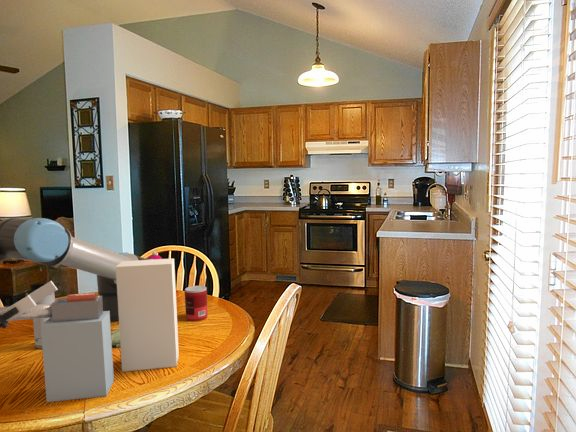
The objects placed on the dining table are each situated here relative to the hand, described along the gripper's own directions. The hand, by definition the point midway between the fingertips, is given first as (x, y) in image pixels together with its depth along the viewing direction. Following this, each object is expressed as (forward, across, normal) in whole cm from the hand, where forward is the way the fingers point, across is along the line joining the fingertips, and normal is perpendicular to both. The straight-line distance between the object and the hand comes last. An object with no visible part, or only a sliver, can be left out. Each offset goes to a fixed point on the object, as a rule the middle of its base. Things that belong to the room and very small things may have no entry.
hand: (44, 292), depth 102 cm
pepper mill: (0, -83, -29) cm, 88 cm away
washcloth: (0, -34, -29) cm, 45 cm away
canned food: (+16, -50, -38) cm, 65 cm away
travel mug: (-24, -34, -15) cm, 44 cm away
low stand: (-6, 0, -25) cm, 26 cm away
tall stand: (+6, -13, -32) cm, 35 cm away
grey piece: (-1, 0, -7) cm, 7 cm away
